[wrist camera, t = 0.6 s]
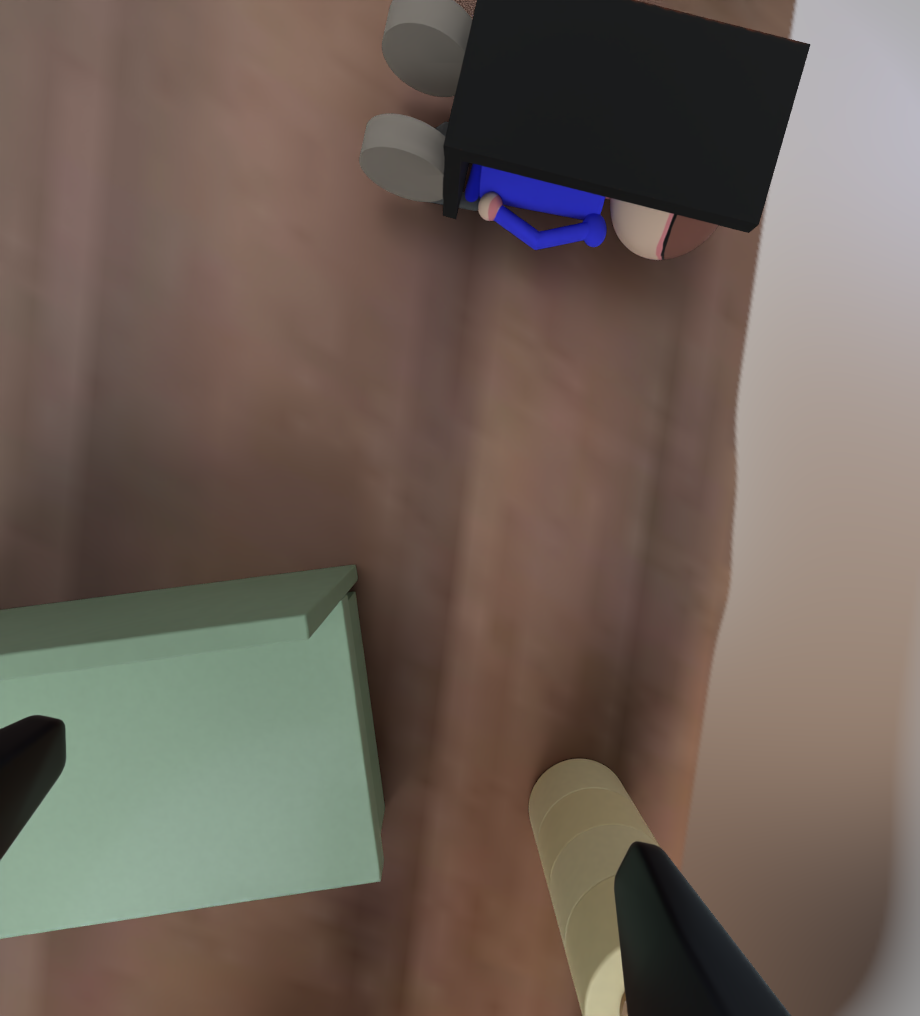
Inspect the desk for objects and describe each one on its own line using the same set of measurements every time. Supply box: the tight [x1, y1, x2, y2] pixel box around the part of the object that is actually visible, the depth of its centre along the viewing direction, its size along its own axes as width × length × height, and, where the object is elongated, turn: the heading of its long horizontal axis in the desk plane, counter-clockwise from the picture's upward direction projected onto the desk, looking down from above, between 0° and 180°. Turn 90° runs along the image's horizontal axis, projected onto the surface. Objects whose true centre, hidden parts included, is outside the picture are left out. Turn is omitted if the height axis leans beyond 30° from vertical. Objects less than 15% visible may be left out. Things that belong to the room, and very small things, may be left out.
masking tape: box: [529, 759, 660, 1016], centre depth 20 cm, size 5×5×10 cm
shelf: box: [0, 565, 385, 939], centre depth 19 cm, size 13×18×9 cm
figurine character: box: [359, 0, 810, 260], centre depth 20 cm, size 7×8×15 cm
